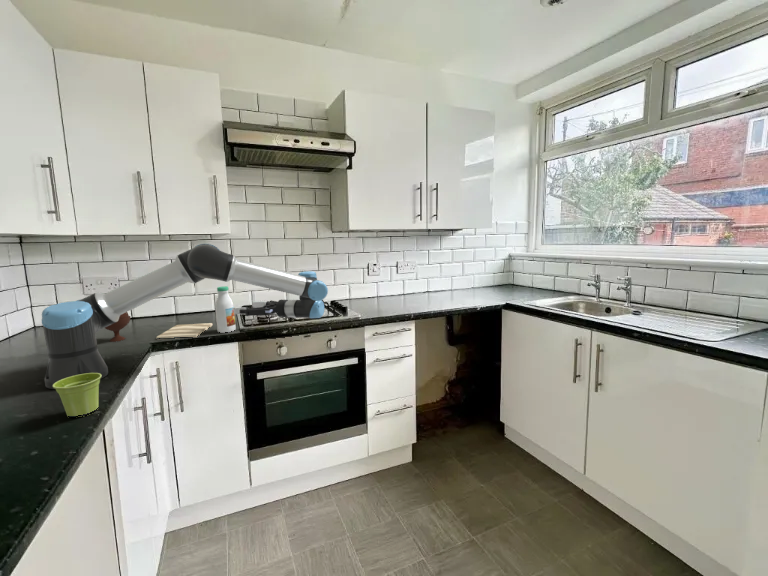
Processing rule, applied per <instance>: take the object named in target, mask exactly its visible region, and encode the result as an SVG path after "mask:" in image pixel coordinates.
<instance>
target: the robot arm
mask: <svg viewBox="0 0 768 576" xmlns="http://www.w3.org/2000/svg"><path fill="white" fill-rule="evenodd" d="M205 279H209V280H216V281H222V282H224V283H225V282H229V281H235V282H239V283H242V284H243V283H244V284H248V285H252V286H256V287H260V288H264V289H265V288H266V289H269V290H274V291H278V292H281V293H286V294H291V295H295V296H299V299H279V300H278V301H276V300H271V299H270V300H269V301H268V300H267V301H265V300H264V301H263V300H262V301H259V300H258V301H256V300H253V301H251V304H252V305H251V308H249V307H248V306H246V307H234V314H235V315H245V316H246V317H251V316H252V317H253V316H262V315H265V316H267V315H269V316H270V315H273V314H276V316H278V317H279V318H293V319H294V320H295V319H296V318H302V319H304V318H305V319H320V318H323V315H324V314H325V304H324V302H323V300H324V299H326V297H327V296H328V293H329V289H328V286H327V285H326V283H325V282H323V280H318V277H317V273H316V272H315V271H312V270H311V271H309V270H307V271H300V272H299V273H298V274H296V273H292V272H287V271H284V270H280V269H276V268H273V267H269V266H265V265H261V264H257V263H254V262H250V261H245V260H241V259H238V258H236V256H235V255H234V254H231V253H227V252H224V251H222V250H220V249H219V248H218V247H217V246H216V245H213V244H210V243H200V244H197V245H195V246H194V247H193V248H190V249H188V250H186V251H184V252H182V253H180V254H177V255H176V257H175V260H174V261H173V262H170V263H168V264H166V265H164V266H161V267H160V268H157V269H155V270H154V271H153V270H152V271H151V272H148V273H147V274H145V275H142V276H140V277H138V278H136V279H133V280H132V281H129V282H127V283H125V284H122V285H121V286H118V287H116V288H114V289H112V290H110V291H108V292H105V293H103V292H99V291H96V292H94V293H93V294H91V295H88V296H86V297H83V298H80V299H78V300H75V301H65V302H59V303H56V304H51V305H49V306H47V307H45V308H44V309H43V310H42V312H41V325H42V327H43V333H44V338H45V344H46V351H47V355H48V356H47V357H48V364H47V367H46V371H45V376H44V385H45V388H47V389H50V390H51V389H52V390H56V389H55V388H53V384H54V383H56V382H57V381H59V380H62V379H64V378H68V377H71V376H75V375H80V374H86V373H100V374H101V375H102V377H101V378H100V380H102V379H103V378H105V377H107V375H108V374H109V369H108V368H109V367H108V365H107V364H106V362H105V360H104V358H103V357H102V355H101V354H100V352H99V349H98V348H99V347H98V340H97V334H96V333H97V332H99V331H101V330H103V329H105V327H107V326H109V325H111V324H113V323H115V322H117V321H118V320H119V317H120V315H121V314H123V313H126V312H129V311H131V310H134V309H135V308H137V307H140V306H142V305H144V304H146V303H148V302H150V301H153V300H154V299H156V298H158V297H161V296H162V295H164V294H166V293H168V292H170V291H173V290H175V289H177V288H179V287H181V286H183V285H185V284H187V283H190V284H197V283H199V282H201V281H203V280H205Z"/></svg>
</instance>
